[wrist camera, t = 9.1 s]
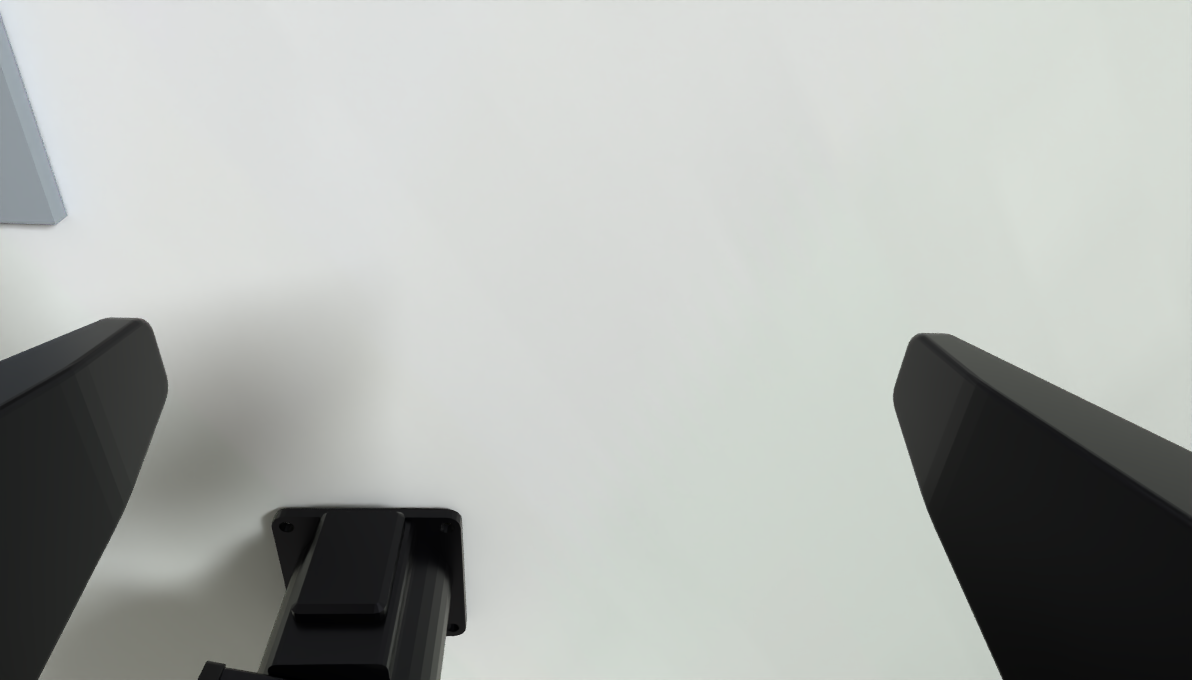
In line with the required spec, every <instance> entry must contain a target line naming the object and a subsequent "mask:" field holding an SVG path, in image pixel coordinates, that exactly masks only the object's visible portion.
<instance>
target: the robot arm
mask: <svg viewBox="0 0 1192 680" xmlns="http://www.w3.org/2000/svg"><path fill="white" fill-rule="evenodd" d="M167 393H168V380H167V375H166V372H165V368H164V365H163V362H162V358H161V355H160V352H159V348H158V345H157V342H156V338H155V335H154V332H153V330H152V327H151V326H150V324H149V323H148V322H146V321H145V320H143V319H140V318H105V319H102V320H99V321H97V322H94V323H92V324H89V325H87V326H85V327H82V328H80V329H77V330H75V331H72V332H70V333H68V334H65V335H63V336H60V337H58V338H55V339H53V340H51V341H48V342H46V343H43V344H41V345H38V346H36V347H34V348H31V349H29V350H26V351H24V352H21V353H19V354H17V355H14V356H12V357H9V358H7V359H4V360H2V361H0V680H38V678H39V676H40V675H41V673H42V671H43V669H44V667H45V665H46V663H47V661H48V659H49V657H50V655H51V653H52V651H53V649H54V647H55V645H56V643H57V641H58V639H59V637H60V636H61V634H62V632H63V630H64V628H65V626H66V624H67V622H68V620H69V618H70V616H71V614H72V612H73V610H74V608H75V606H76V604H77V602H78V600H79V599H80V597H81V595H82V593H83V591H84V589H85V587H86V585H87V583H88V581H89V579H90V577H91V575H92V573H93V571H94V569H95V567H96V565H97V563H98V561H99V560H100V558H101V556H102V554H103V552H104V550H105V548H106V546H107V544H108V542H109V540H110V538H111V536H112V534H113V532H114V530H115V528H116V526H117V524H118V522H119V520H120V518H121V516H122V514H123V512H124V510H125V508H126V505H127V503H128V500H129V498H130V495H131V493H132V491H133V488H134V485H135V483H136V480H137V477H138V474H139V472H140V469H141V466H142V464H143V461H144V458H145V455H146V453H147V450H148V447H149V445H150V442H151V439H152V436H153V434H154V431H155V428H156V426H157V423H158V420H159V417H160V415H161V412H162V409H163V407H164V404H165V401H166V398H167ZM893 402H894V408H895V411H896V415H897V418H898V421H899V424H900V427H901V430H902V434H903V437H904V440H905V443H906V446H907V450H908V453H909V456H910V459H911V462H912V465H913V469H914V472H915V475H916V478H917V481H918V485H919V488H920V491H921V494H922V497H923V500H924V502H925V505H926V508H927V511H928V513H929V515H930V518H931V520H932V523H933V525H934V527H935V530H936V532H937V534H938V536H939V539H940V541H941V543H942V545H943V547H944V550H945V552H946V554H947V556H948V559H949V561H950V563H951V565H952V568H953V570H954V572H955V574H956V576H957V579H958V581H959V583H960V585H961V588H962V590H963V592H964V594H965V597H966V599H967V601H968V603H969V606H970V608H971V610H972V612H973V614H974V617H975V619H976V621H977V623H978V626H979V628H980V630H981V632H982V635H983V637H984V639H985V641H986V643H987V646H988V648H989V650H990V652H991V655H992V657H993V659H994V661H995V664H996V666H997V668H998V670H999V672H1000V675H1001V677H1002V679H1003V680H1192V452H1191V451H1189V450H1187V449H1185V448H1183V447H1181V446H1179V445H1177V444H1175V443H1173V442H1170V441H1168V440H1166V439H1164V438H1162V437H1160V436H1158V435H1156V434H1154V433H1152V432H1150V431H1148V430H1146V429H1144V428H1142V427H1140V426H1138V425H1136V424H1134V423H1131V422H1129V421H1127V420H1125V419H1123V418H1121V417H1119V416H1117V415H1115V414H1113V413H1111V412H1109V411H1107V410H1105V409H1103V408H1101V407H1099V406H1097V405H1095V404H1092V403H1090V402H1088V401H1086V400H1084V399H1082V398H1080V397H1078V396H1076V395H1074V394H1072V393H1070V392H1068V391H1066V390H1064V389H1062V388H1060V387H1058V386H1056V385H1053V384H1051V383H1049V382H1047V381H1045V380H1043V379H1041V378H1039V377H1037V376H1035V375H1033V374H1031V373H1029V372H1027V371H1025V370H1023V369H1021V368H1019V367H1017V366H1014V365H1012V364H1010V363H1008V362H1006V361H1004V360H1002V359H1000V358H998V357H996V356H994V355H992V354H990V353H988V352H986V351H984V350H982V349H980V348H978V347H975V346H973V345H971V344H969V343H967V342H965V341H963V340H961V339H959V338H957V337H955V336H953V335H950V334H945V333H919V334H917V335H915V336H914V337H912V339H911V340H910V342H909V344H908V346H907V350H906V353H905V356H904V359H903V362H902V365H901V368H900V371H899V374H898V377H897V380H896V384H895V387H894V393H893ZM286 522H289V523H291V524H288V523H286ZM444 523H450V524H449V525H448V524H444ZM272 530H273V535H274V539H275V543H276V547H277V552H278V556H279V560H280V564H281V569H282V573H283V577H284V581H285V586H286V593H285V596H284V599H283V602H282V604H281V607H280V610H279V613H278V616H277V619H276V621H275V624H274V627H273V630H272V633H271V636H270V638H269V641H268V644H267V647H266V650H265V653H264V655H263V658H262V661H261V664H260V667H259V670H258V672H257V673H255V672H249V671H243V670H237V669H232V668H226V664H222V663H216V662H211V661H207V662H206V664H205V666H204V668H203V670H202V672H201V674H200V676H199V678H198V680H440V678H441V670H442V662H443V655H444V647H445V639H446V636H457V635H460V634H462V633H463V632H464V631H465V629H466V622H467V613H466V593H465V572H464V551H463V530H462V518H461V515H460V514H459V513H458V512H456V511H454V510H449V509H282V510H280V511H278V512H277V513H276V515H275V517H274V520H273V522H272Z"/></svg>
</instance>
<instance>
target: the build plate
mask: <svg viewBox="0 0 1192 680" xmlns="http://www.w3.org/2000/svg"><path fill="white" fill-rule="evenodd" d="M66 216H67V213H66V210H65V207H64V204H63V201H62V198H61V195H60V192H59V189H58V186H57V183H56V180H55V177H54V174H53V171H52V168H51V165H50V162H49V159H48V156H47V152H46V149H45V146H44V143H43V140H42V137H41V134H40V131H39V128H38V125H37V122H36V119H35V116H34V113H33V110H32V107H31V104H30V101H29V98H28V95H27V92H26V89H25V86H24V83H23V80H22V77H21V74H20V71H19V68H18V65H17V62H16V59H15V56H14V53H13V50H12V47H11V44H10V41H9V38H8V35H7V32H6V29H5V26H4V23H3V20H2V17H1V14H0V223H21V224H53V225H56V224H57V223H58V222H60V221H61V220H62V219H64V218H65V217H66Z"/></svg>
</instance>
